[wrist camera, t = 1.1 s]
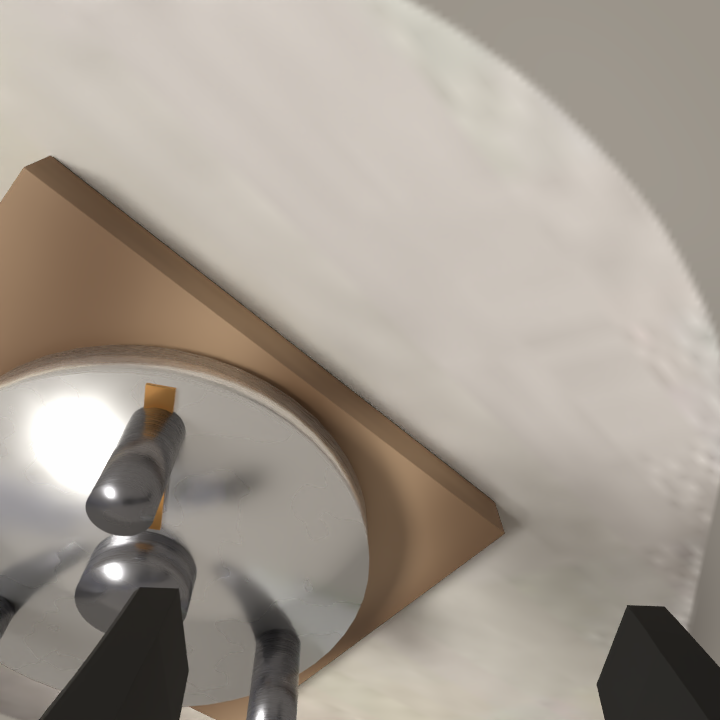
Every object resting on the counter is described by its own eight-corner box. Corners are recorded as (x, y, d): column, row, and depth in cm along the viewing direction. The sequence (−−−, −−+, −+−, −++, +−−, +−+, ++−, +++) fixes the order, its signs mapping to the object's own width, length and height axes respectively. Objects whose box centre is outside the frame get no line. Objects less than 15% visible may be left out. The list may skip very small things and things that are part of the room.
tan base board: (-173, 483, 20) (-220, 525, 18) (50, 155, 15) (15, 171, 14) (243, 694, 26) (236, 740, 24) (494, 502, 21) (507, 542, 20)
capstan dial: (-91, 300, 15) (-241, 396, 11) (415, 393, 17) (438, 505, 13) (-50, 642, 21) (-139, 784, 17) (321, 685, 23) (318, 823, 19)
